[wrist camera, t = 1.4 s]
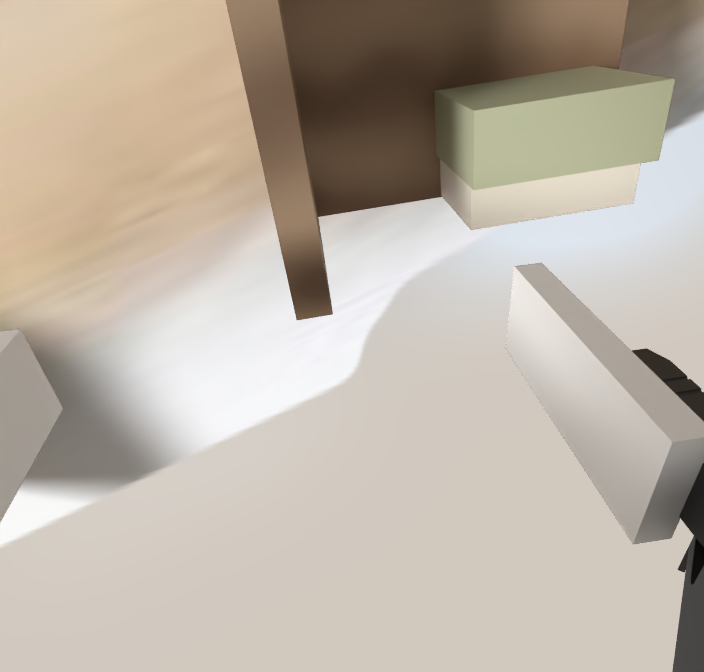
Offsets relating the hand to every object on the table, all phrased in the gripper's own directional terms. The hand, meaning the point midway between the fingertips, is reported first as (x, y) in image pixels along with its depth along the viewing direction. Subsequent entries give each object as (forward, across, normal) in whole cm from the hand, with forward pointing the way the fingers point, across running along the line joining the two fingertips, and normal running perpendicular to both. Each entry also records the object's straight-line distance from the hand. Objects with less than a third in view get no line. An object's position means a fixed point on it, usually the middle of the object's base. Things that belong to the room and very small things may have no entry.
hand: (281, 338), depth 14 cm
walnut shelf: (+30, +10, +5) cm, 32 cm away
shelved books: (+18, +14, 0) cm, 23 cm away
